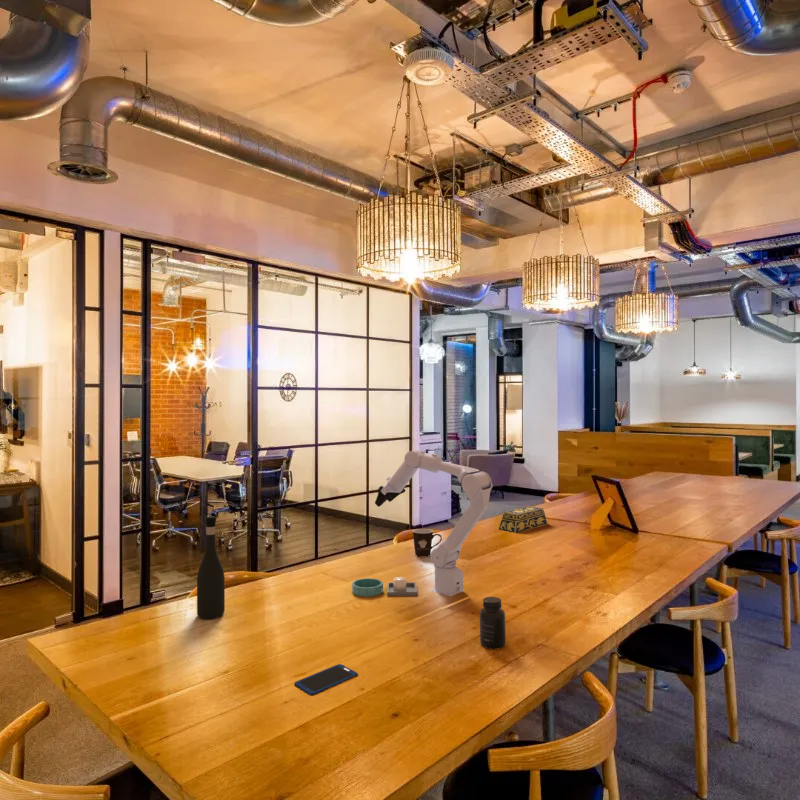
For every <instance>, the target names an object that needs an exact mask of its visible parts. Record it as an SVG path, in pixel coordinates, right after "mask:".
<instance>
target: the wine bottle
mask: <svg viewBox="0 0 800 800" xmlns="http://www.w3.org/2000/svg"><path fill="white" fill-rule="evenodd" d="M216 523H217V517H216V516H213V515H210V516H206V517H205V534H206V535H205V538H206V539H205V540H206V543H205V545H206V546H205V551H204V553H203V558H202V559H201V563H200V565H199V568H198V571H197V576H196V577H197V578H196V614H197V617H198V618H200V619H203V620H212V619H216V618H219V617H221V616H222V615H223V614H224V613H225V607H226V606H225V604H226V603H225V602H226V601H225V594H226V593H225V586H226V585H225V581H226V580H225V579H226V577H225V572H224V571H225V570H224V567H223V564H222V562H221V560H220V557H219V554H218V552H217V548H216Z"/></svg>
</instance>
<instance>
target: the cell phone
mask: <svg viewBox="0 0 800 800" xmlns="http://www.w3.org/2000/svg"><path fill="white" fill-rule="evenodd" d="M357 675H358V676H359V673H358V672H357V671H355V670H354V669H351V668H350V667H347V666H345V665H344V664H341V663H338V664H336V665H333V666H330V667H328V668H326V669H323V670H321V671H318V672H316V673H314V674H311V675H309V676H307V677H306V676H305V678H301V679H299V680H297V681H295V682H294V684H293V685H294V686H295V687H296V686H297V687H296V688H297V689H299V688H300V691H302V690H303V691H302V692H304V693H305V694H307V693H308V694H307V695H309V694H310V695H309V696H315V695H317V693H318V694H319V692H320V693H322V692H324V690H325V691H326V689H327V690H329V689H331V688H333V687H332V686H334V687H335V685H336V686H338V685H340V684H342V683H341V682H343V681H345V682H347V681H349V680H351V679H350V678H352V677H354V676H356V677H357ZM354 678H355V677H354ZM348 679H349V680H348ZM352 679H353V678H352ZM346 680H347V681H346ZM339 683H340V684H339ZM343 683H344V682H343ZM337 684H338V685H337ZM330 687H331V688H330ZM328 688H329V689H328ZM314 694H315V695H314Z"/></svg>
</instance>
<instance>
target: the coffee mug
mask: <svg viewBox="0 0 800 800" xmlns="http://www.w3.org/2000/svg"><path fill="white" fill-rule="evenodd" d="M433 532H434V530H432V529H431V528H416V529H413V530H412V537H413V547H414V553H415V554H414V555H415V556H416V555H417V557H420V556H426V557H429V556H428V555H430V556H431V552H432V550H433V549H434V548H436V547H437V546H439V545H440V544H441V543H442V539H443V538H442V535H441V534H439V533H434V534H433ZM435 536H439V537H440V540H439V541H438V542H437V543H435V544H433V545H432V541H433V539H434V538H435Z"/></svg>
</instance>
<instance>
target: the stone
mask: <svg viewBox="0 0 800 800" xmlns="http://www.w3.org/2000/svg"><path fill="white" fill-rule="evenodd" d="M392 581H393V582H392V583H393V591H394V592H399V591H406V582H407V578H406V577H404V576H396V577H393V580H392Z"/></svg>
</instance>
